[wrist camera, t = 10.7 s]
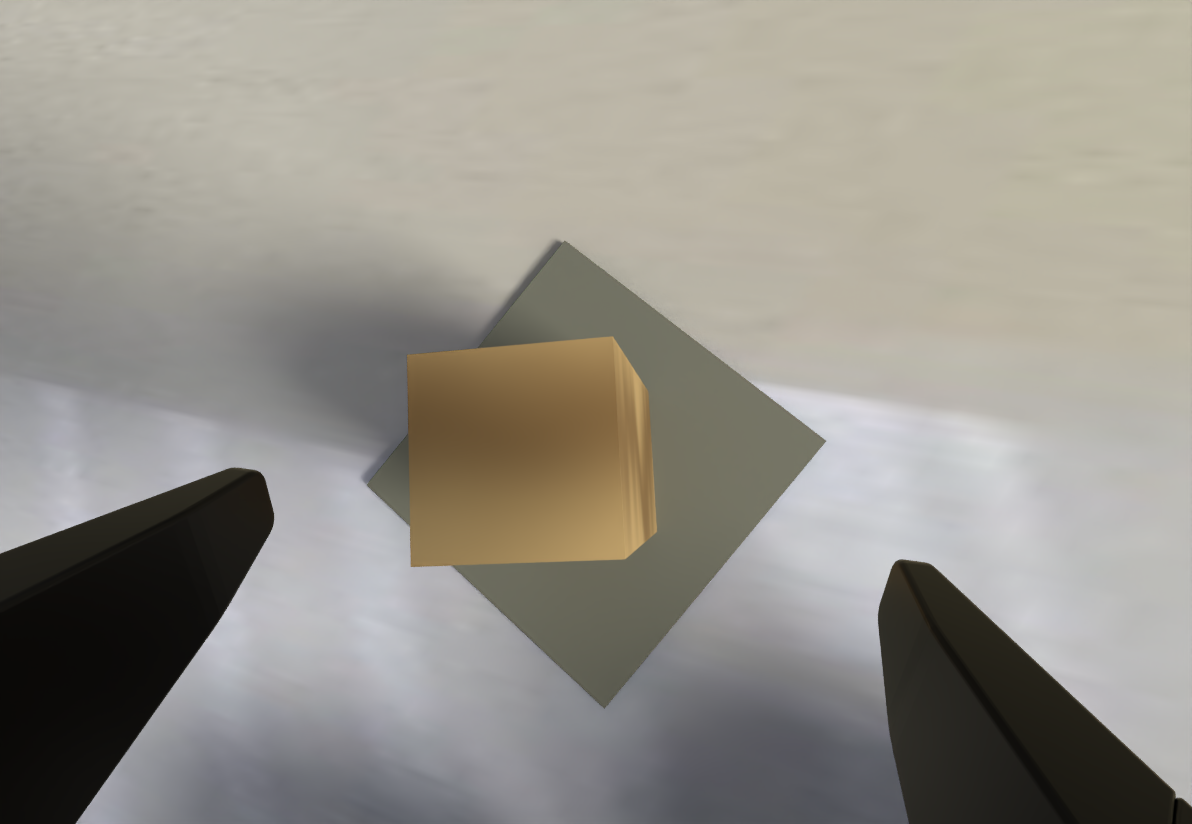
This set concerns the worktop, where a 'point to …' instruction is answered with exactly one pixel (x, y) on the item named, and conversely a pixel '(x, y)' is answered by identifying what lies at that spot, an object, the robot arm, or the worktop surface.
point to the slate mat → (681, 480)
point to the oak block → (528, 454)
